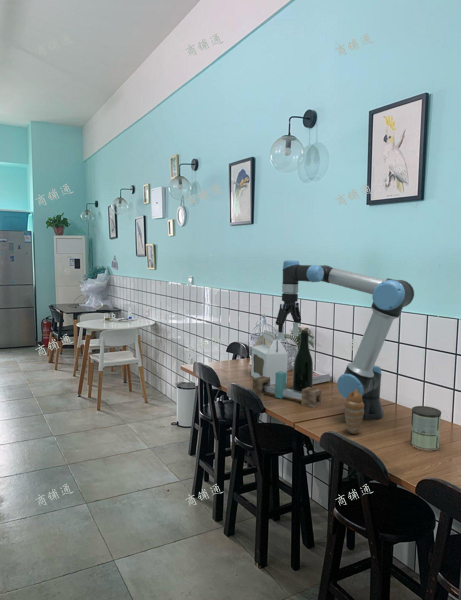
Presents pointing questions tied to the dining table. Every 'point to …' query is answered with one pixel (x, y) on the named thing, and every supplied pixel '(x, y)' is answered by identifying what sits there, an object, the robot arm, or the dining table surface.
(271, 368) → the gable box
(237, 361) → the dining table surface
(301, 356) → the beer bottle
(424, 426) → the coffee can
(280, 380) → the grey and teal t-shape
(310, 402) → the sleeve
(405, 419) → the dining table surface
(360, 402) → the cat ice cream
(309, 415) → the dining table surface
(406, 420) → the dining table surface
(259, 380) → the socket block
